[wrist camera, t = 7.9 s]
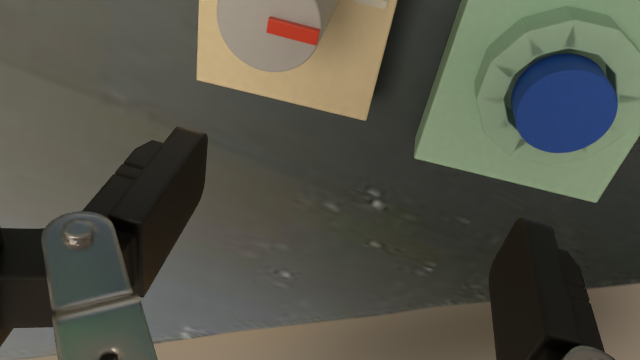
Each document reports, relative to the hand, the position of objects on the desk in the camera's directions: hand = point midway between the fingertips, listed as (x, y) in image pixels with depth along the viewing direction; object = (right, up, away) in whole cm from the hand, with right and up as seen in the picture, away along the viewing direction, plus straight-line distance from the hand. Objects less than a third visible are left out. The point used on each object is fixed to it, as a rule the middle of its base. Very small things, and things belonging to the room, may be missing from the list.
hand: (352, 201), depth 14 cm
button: (+10, +4, +10) cm, 15 cm away
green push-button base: (+10, +6, +13) cm, 18 cm away
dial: (-2, +9, +10) cm, 14 cm away
